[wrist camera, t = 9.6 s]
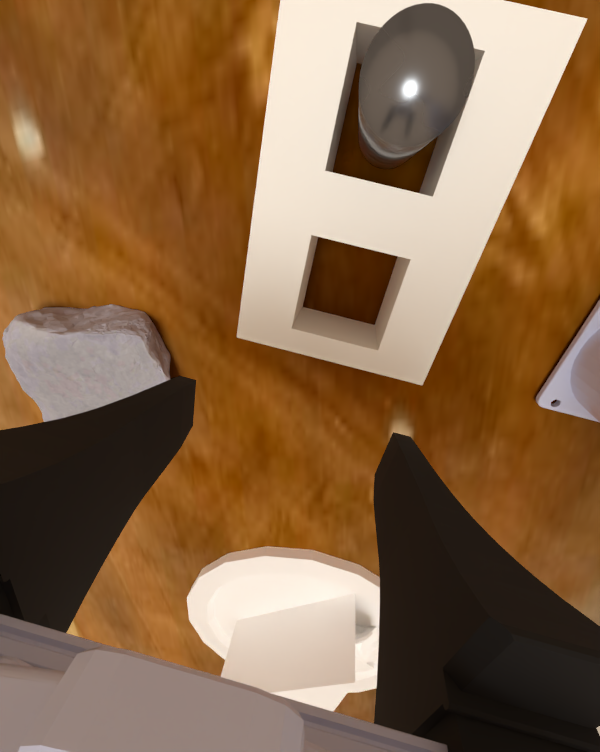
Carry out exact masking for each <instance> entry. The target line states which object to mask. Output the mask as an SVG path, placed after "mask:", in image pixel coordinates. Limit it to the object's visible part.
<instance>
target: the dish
mask: <svg viewBox="0 0 600 752" xmlns="http://www.w3.org/2000/svg"><path fill="white" fill-rule="evenodd" d="M187 604H188V613H189V621H190V622H191V624H192V625H193V627H194V628H195V630H196V631H197V633H198V634H199V636H200V638H201V639H202V641H203V642H204V643H205V644H206V645H208V646H209V647H210V648H211V649H213V650H214V651H215V652H216V653H217V654H219V655H220V656H221V657H222V658H223V659H225V663H224V667H223V670H222V674H221V677H223V678H226V679H229V680H233V681H236V682H240V683H243V684H247V685H250V686H253V687H257V688H259V689H262V690H264V691H266V692H269V693H271V694H275V695H278V696H282V697H285V698H288V699H292V700H295V701H299V702H302V703H305V704H309V705H312V706H316V707H319V708H322V709H326V710H329V711H334V710H335V709H336V707H337V706H338V705H339V703H340V702H341V701H342V699H343V698H344V697H345V695H346V694H347V693H348V692H362V691H366V690H370V689H374V688H377V670H378V648H379V616H380V577H378V576H377V575H375V574H373V573H372V572H370V571H368V570H367V569H365V568H364V567H362V566H360V565H359V564H356V563H352V562H349V561H346V560H343V559H340V558H337V557H333V556H330V555H327V554H324V553H321V552H318V551H315V550H306V549H294V548H282V547H270V546H266V547H260V548H255V549H249V550H243V551H238V552H232V553H228V554H226V555H224V556H223V557H221V558H219V559H218V560H216V561H214V562H212V563H211V564H209V565H207V566H206V567H204V568H202V570H201V572H200V573H199V575H198V577H197V579H196V580H195V582H194V584H193V586H192V588H191V590H190V592H189V594H188V596H187Z"/></svg>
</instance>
